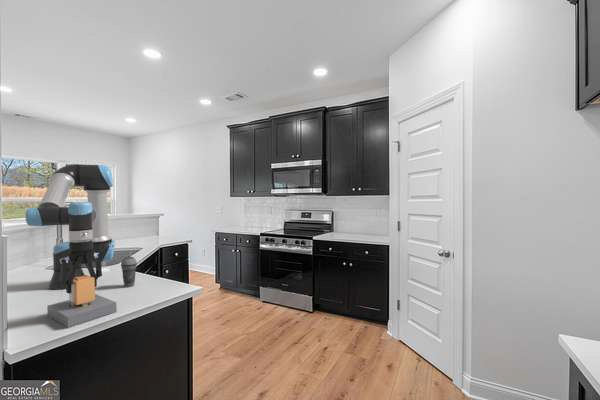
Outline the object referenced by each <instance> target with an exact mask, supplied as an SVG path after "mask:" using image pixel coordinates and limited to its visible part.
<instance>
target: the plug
mask: <svg viewBox="0 0 600 400" xmlns="http://www.w3.org/2000/svg"><path fill="white" fill-rule="evenodd" d="M72 284H74V298H75V301H73V302H72V301H70V300H69V299H68V300H69V301H70V302H71V307H73V306H76V305H79V304H81V307H84V306H87V305H88V302H89V301H93V300H95V294H96V291H95V290H96V289H95V288H96V287H95V278H93V277H91V276H90V275H87V274H85V275H84V276H79V277H74V279H73V282H72Z"/></svg>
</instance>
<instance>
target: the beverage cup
mask: <svg viewBox="0 0 600 400" xmlns="http://www.w3.org/2000/svg"><path fill="white" fill-rule="evenodd" d="M120 263H121V264H120V266H121V267H120V268H121V272H122V279H123V286H124V288H131V287H134V286H135V281H136V272H137V271H136V269H137V264H138V261H137V259H136V258H135V257H134V256H132V247H130V251H129V256H126V257H124V258H123V259H122V260H121V262H120Z"/></svg>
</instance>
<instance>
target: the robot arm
mask: <svg viewBox="0 0 600 400" xmlns="http://www.w3.org/2000/svg"><path fill="white" fill-rule="evenodd" d="M74 187H83V191H84V192H86V194H87V202H86V201H85V202H69V204H68V206H64V205H65V201H66V199H67V197H68V195H69V193H70V189H72V188H74ZM113 187H114V180H113V174H112V171H111V168H110V166H109V165H103V164H79V163H73V164H67V165H64V166H62V167H60V168H58V169H57V170H55V171H54V172H53V173H52V174H51V175H50V177H49V185H48V187H47V189H46V191H45V192H44V195H43V197H42V199H41V200H40V203H38V206H37V207H36V206H34V207H30V208H29V207H28V208H27V209H26V212H25V223H26V224H27V225H28V226H30V227H47V226H48V227H50V226H51V227H52V226H68V241H64V242H60V243H59V242H58V243H57V244H55V245H54V246H53V247H52V249H53V250H52V251H53V252H52V261H53V262H52V263H53V273H52V277H51V279H50V281H49V285H48V286H49V289H50V290H65V289H66V290H65V292H66V294H68V295H69V296H68V297H69V299H68V300H70V301H72V302H73V301H75V298H74V284H72V282H73V279H74V277H79V276H84V275H86V274H85V272H84V270H83V265H85V266H86V268H87V269H86V270H87V271H88V274H89V276H90V277H93V278H95V288H96V287H97V285H98V284H97V281H98V279H99V278H101V277H103V271H102V263H106V262H110V261H111V260H113V257H114V251H115V245H116V243H115V242H116V241H115V240H113V238H112V236H111V235H110V234H109V222H108V221H109V218H108V217H109V216H108V214H109V213H108V192H110V191H111V188H113ZM93 264H94V265H93ZM94 266H95V267H94ZM94 268H95V269H94Z"/></svg>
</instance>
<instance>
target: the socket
mask: <svg viewBox="0 0 600 400" xmlns="http://www.w3.org/2000/svg"><path fill="white" fill-rule="evenodd" d="M117 306H118V305H117V301H114V300H111V299H109V298H106V297H104V296H101V295H100V294H96V293H95V300H93V301H89V302H88V305H87V306H84V307H81V304H79V305H76V306H73V307H71V302H70V301H69V299H67V300H64V301H60V302H56V303H52V304H49V305H47V307H46V308H47V310H46V311H47V316H48V317H49V318H51V319H52V318H53V319H52V320H54V321H55V322H57V323H59V324H61V325H62V324H63V325H62V326H63V327H66V328H67V327H68V329H70V328H73V327H75V325H76V326H78V325H82V324H84V323H87V322H91V321H93V320H96V319H100V318H103V317H105V316H108V315H112V314H115V313H117V309H118V308H117ZM72 326H73V327H72ZM69 327H70V328H69Z"/></svg>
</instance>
